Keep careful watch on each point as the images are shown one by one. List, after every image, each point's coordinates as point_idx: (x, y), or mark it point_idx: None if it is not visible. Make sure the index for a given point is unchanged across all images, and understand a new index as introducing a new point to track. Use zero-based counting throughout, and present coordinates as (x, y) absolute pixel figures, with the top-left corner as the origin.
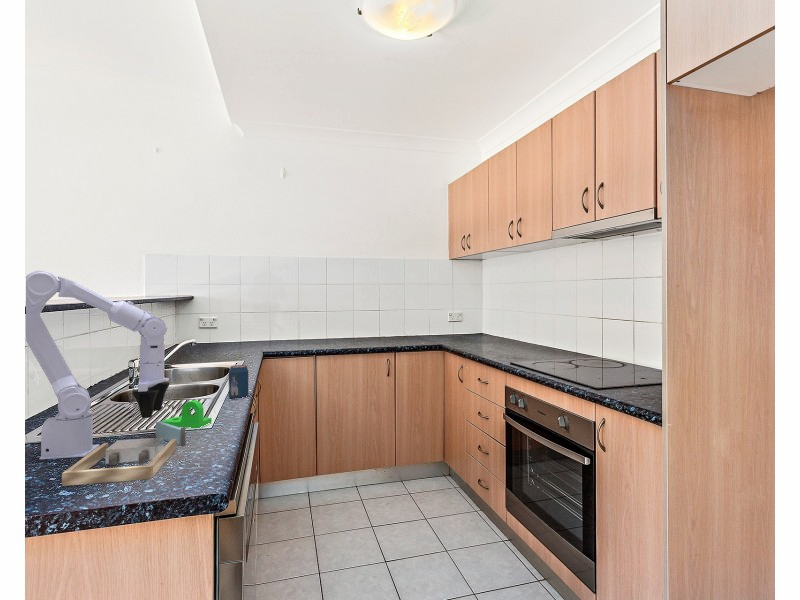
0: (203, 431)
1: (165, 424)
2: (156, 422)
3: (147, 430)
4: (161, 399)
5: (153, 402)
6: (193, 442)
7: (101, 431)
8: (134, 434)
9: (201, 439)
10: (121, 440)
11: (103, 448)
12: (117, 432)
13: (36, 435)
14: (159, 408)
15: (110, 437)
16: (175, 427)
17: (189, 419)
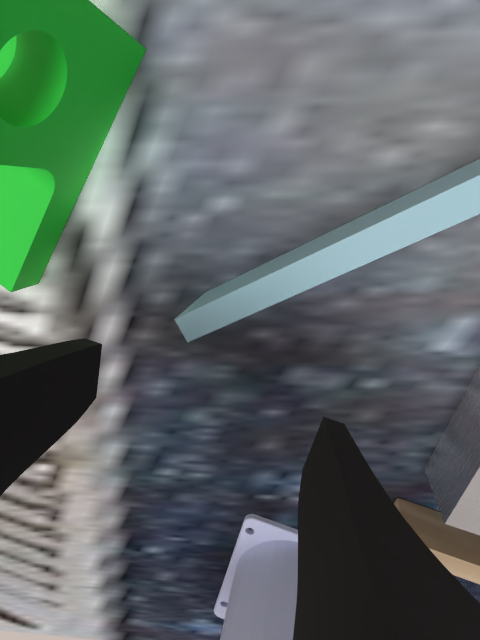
0: (205, 11)
1: (292, 286)
2: (193, 339)
3: None
4: (25, 379)
5: (398, 528)
6: (469, 82)
7: (37, 494)
8: (123, 396)
9: (422, 19)
10: (465, 510)
11: (466, 553)
12: (68, 450)
13: (35, 630)
14: (92, 355)
15: (137, 475)
16: (442, 212)
17: (73, 106)
